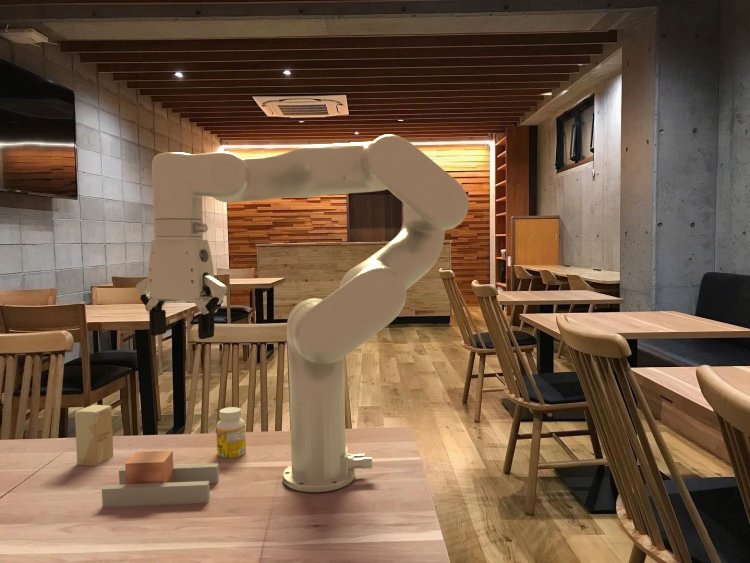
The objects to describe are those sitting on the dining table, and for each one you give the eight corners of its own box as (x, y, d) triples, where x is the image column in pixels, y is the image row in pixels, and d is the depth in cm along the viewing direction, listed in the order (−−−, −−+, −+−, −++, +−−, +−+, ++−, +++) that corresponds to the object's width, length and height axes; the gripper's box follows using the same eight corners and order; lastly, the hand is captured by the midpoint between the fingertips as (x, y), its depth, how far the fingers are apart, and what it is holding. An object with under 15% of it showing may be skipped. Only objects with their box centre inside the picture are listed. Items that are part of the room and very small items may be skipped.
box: (96, 472, 108) (93, 412, 107) (76, 470, 109) (73, 411, 108) (115, 461, 113) (112, 404, 112) (95, 460, 114) (92, 403, 113)
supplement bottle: (248, 461, 112) (246, 411, 112) (219, 466, 110) (217, 415, 109) (243, 452, 117) (241, 404, 117) (215, 456, 115) (213, 408, 114)
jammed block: (174, 485, 99) (172, 450, 98) (165, 498, 94) (164, 462, 93) (137, 487, 98) (135, 452, 98) (126, 500, 93) (125, 463, 93)
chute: (220, 482, 103) (220, 459, 102) (206, 514, 91) (205, 489, 91) (78, 488, 101) (77, 465, 101) (44, 521, 89) (42, 496, 89)
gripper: (237, 231, 96) (240, 335, 97) (152, 231, 102) (156, 330, 103) (208, 230, 89) (211, 343, 90) (119, 231, 95) (123, 336, 96)
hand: (181, 336), depth 97 cm, fingers open, 9 cm apart
